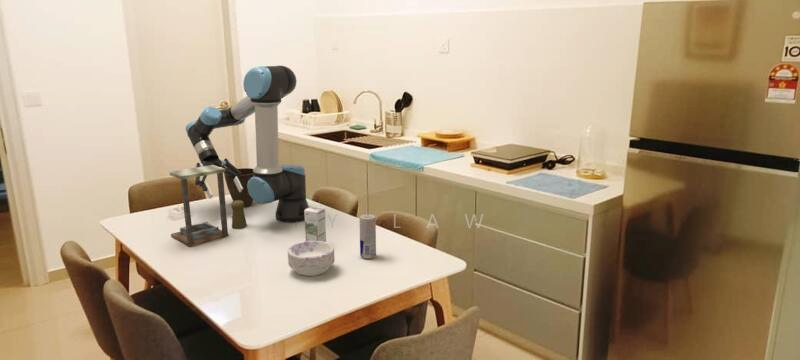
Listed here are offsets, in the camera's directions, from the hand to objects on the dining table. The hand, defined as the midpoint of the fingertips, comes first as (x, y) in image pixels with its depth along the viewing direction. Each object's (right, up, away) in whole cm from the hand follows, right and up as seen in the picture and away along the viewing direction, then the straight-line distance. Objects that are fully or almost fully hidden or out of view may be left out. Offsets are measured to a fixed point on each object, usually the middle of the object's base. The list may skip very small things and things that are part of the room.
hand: (226, 193), depth 230 cm
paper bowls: (+43, -25, -46) cm, 68 cm away
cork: (+6, -14, -2) cm, 15 cm away
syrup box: (+41, -19, -24) cm, 51 cm away
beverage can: (+61, -22, -34) cm, 73 cm away
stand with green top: (-6, -16, -14) cm, 22 cm away
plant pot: (-1, -6, +28) cm, 28 cm away
